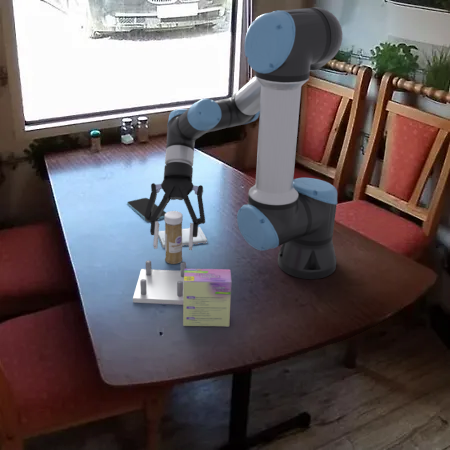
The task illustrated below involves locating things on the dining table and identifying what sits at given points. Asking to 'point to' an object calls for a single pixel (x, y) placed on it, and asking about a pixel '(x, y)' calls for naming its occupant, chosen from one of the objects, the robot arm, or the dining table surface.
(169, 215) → the sprinkles bottle
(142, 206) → the smartphone
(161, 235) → the hard drive
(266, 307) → the dining table surface
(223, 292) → the box
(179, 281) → the pin tray
